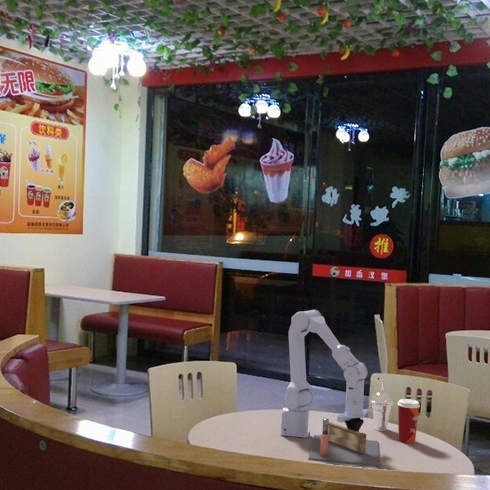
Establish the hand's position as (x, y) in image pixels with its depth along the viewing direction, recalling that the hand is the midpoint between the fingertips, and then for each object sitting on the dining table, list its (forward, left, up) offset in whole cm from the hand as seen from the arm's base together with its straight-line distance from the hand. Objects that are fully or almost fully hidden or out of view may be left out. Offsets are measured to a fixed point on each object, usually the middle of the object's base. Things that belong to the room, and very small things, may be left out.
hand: (352, 440), depth 223 cm
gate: (-2, -1, -2) cm, 3 cm away
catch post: (-9, -11, -3) cm, 14 cm away
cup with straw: (+9, +26, -3) cm, 28 cm away
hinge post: (-10, +6, -3) cm, 11 cm away
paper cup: (+18, +15, -3) cm, 24 cm away
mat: (-3, -2, -3) cm, 5 cm away
